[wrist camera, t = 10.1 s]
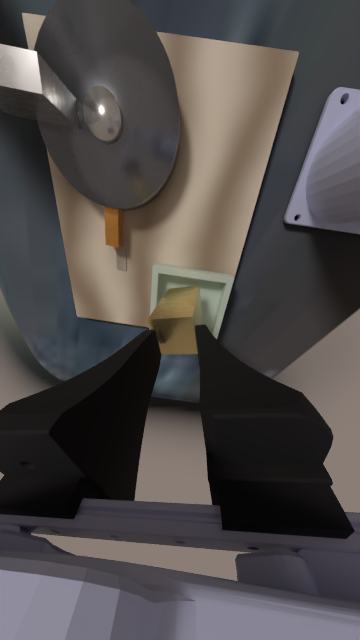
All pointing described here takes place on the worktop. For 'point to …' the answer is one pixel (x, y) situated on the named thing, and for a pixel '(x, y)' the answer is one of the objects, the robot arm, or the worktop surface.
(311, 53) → the worktop surface
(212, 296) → the tray
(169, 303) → the block
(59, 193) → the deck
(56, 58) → the crank
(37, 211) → the worktop surface
